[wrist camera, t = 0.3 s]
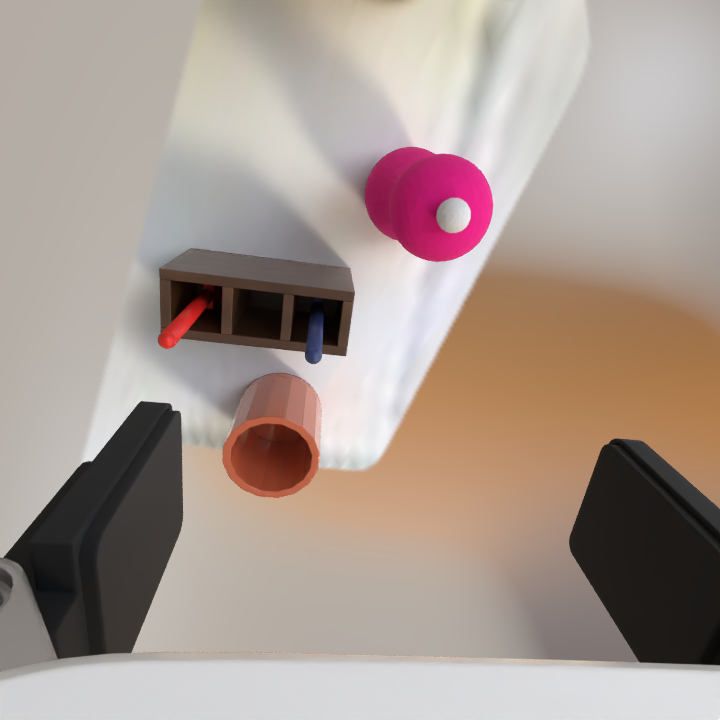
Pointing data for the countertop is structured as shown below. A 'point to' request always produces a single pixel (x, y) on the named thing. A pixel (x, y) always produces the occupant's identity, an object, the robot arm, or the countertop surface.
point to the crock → (274, 437)
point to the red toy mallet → (190, 315)
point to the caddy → (258, 300)
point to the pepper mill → (429, 202)
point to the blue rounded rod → (315, 332)
